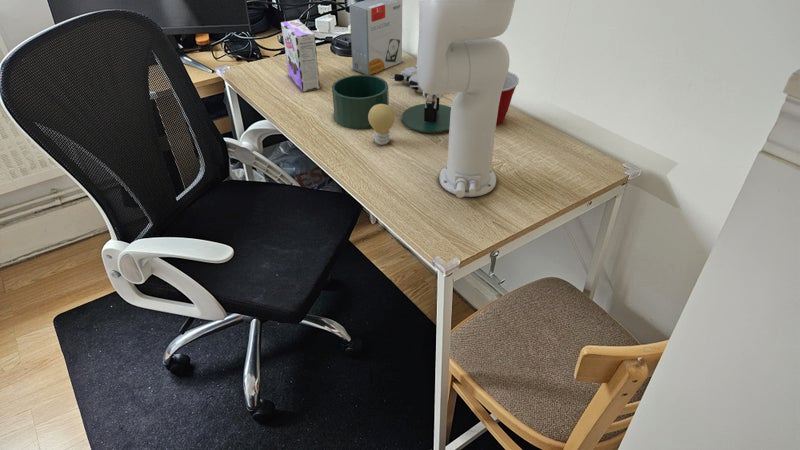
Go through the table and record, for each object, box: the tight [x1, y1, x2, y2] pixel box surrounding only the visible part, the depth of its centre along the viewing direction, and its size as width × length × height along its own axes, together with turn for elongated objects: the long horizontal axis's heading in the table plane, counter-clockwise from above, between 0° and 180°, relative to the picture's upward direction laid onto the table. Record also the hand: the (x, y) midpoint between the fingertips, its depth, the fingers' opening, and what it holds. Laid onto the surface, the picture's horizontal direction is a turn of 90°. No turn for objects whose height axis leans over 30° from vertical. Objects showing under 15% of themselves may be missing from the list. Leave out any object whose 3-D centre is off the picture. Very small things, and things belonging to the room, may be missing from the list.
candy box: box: [280, 18, 321, 92], centre depth 152 cm, size 14×6×16 cm, turn 27°
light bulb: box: [368, 104, 395, 146], centre depth 126 cm, size 6×6×10 cm
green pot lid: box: [401, 99, 452, 134], centre depth 136 cm, size 16×16×6 cm
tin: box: [331, 74, 390, 130], centre depth 137 cm, size 15×15×8 cm
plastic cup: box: [496, 71, 520, 127], centre depth 133 cm, size 11×11×12 cm
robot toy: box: [389, 66, 423, 94], centre depth 153 cm, size 12×4×15 cm
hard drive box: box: [349, 0, 403, 76], centre depth 160 cm, size 16×8×20 cm, turn 136°
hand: (431, 115), depth 136 cm, fingers open, 5 cm apart
